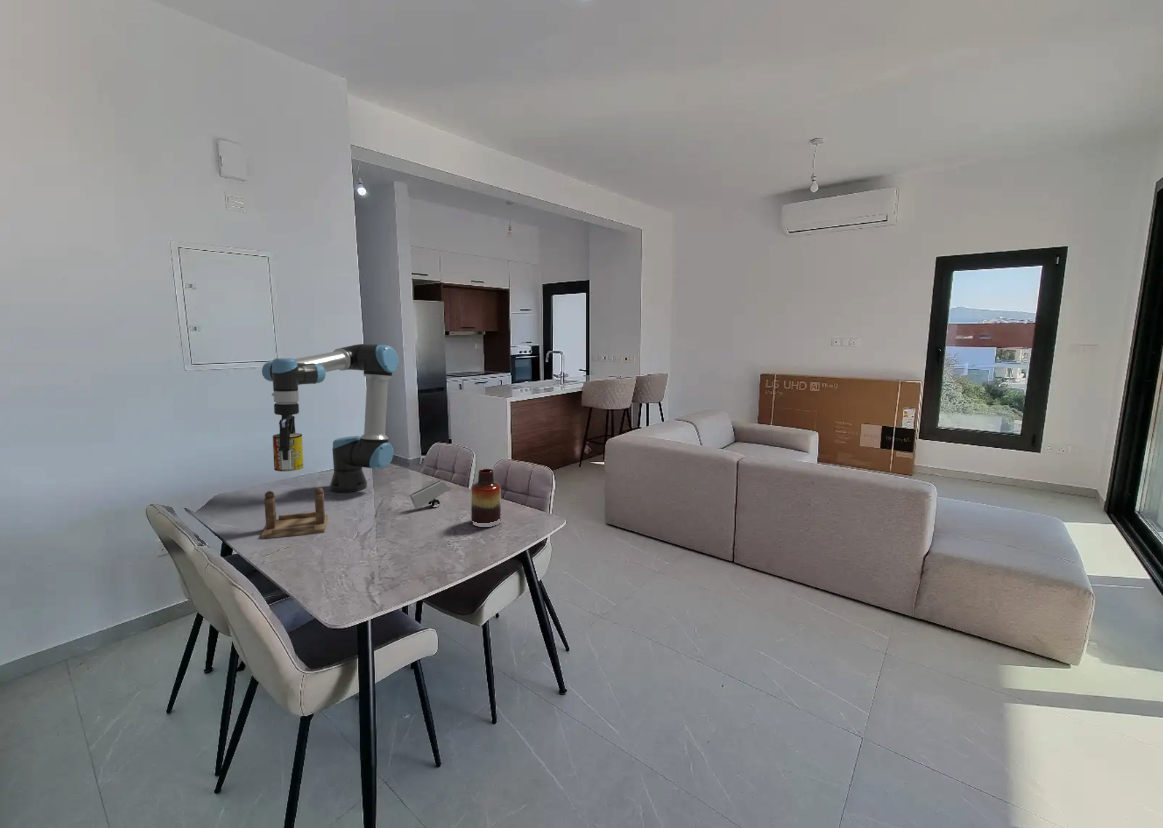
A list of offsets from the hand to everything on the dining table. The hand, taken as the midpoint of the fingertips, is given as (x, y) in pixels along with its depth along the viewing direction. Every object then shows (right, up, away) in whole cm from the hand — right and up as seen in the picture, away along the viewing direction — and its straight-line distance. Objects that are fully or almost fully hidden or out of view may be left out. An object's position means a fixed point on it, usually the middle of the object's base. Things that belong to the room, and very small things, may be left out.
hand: (289, 465), depth 182 cm
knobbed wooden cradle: (+2, -22, +1) cm, 23 cm away
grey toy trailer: (+38, -18, +22) cm, 47 cm away
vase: (+68, -23, +11) cm, 73 cm away
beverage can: (0, -1, 0) cm, 1 cm away
